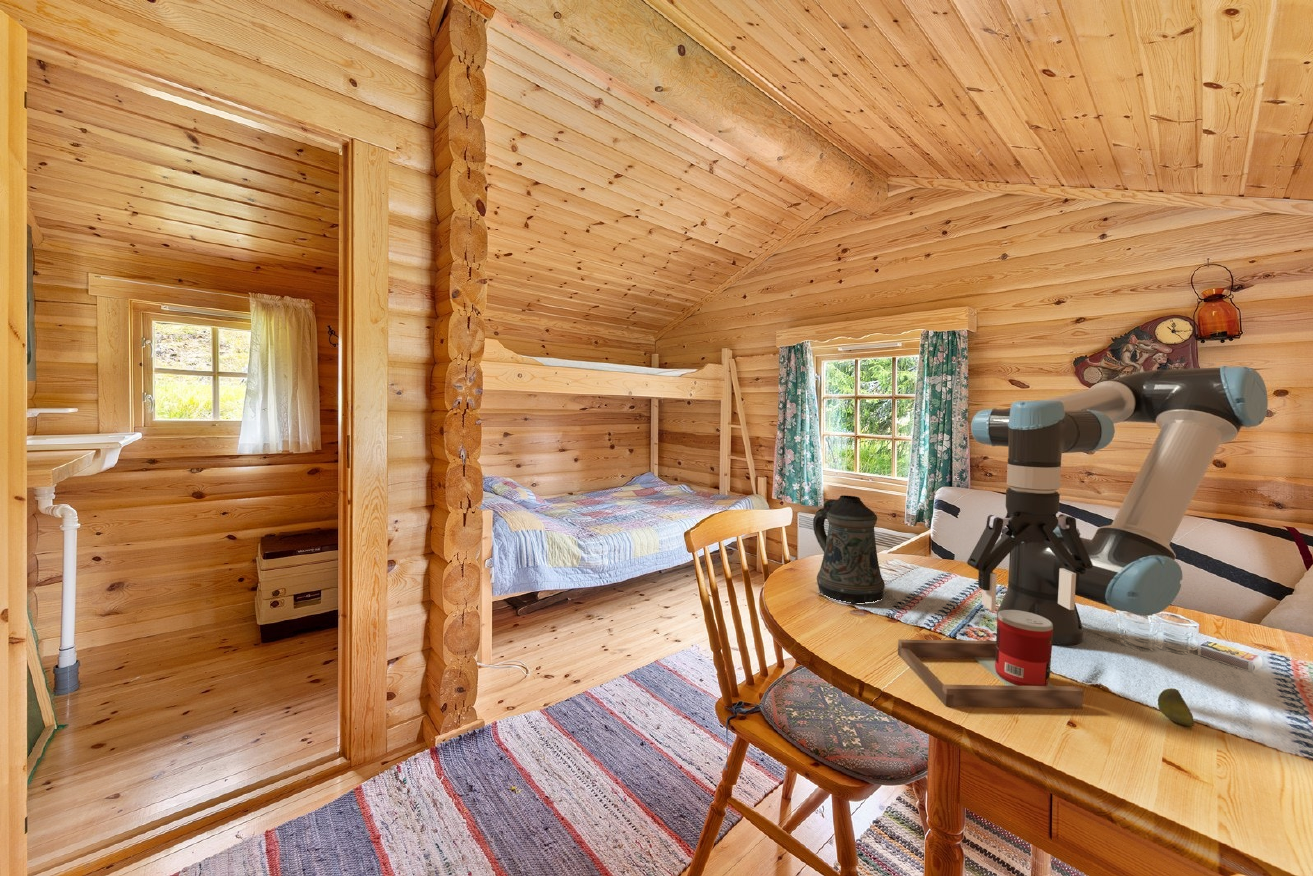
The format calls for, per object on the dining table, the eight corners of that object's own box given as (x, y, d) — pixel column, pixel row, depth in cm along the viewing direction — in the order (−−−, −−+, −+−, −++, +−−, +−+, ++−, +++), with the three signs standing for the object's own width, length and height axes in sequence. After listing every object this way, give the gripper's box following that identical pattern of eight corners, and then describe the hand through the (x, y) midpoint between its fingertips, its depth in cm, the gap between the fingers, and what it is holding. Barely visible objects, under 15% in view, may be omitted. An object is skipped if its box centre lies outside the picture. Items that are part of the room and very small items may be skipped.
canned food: (1058, 692, 86) (1062, 629, 85) (1006, 686, 88) (1009, 625, 87) (1035, 669, 93) (1038, 611, 93) (987, 664, 95) (990, 607, 94)
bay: (1010, 655, 99) (1011, 641, 99) (1082, 708, 82) (1083, 690, 82) (897, 654, 99) (898, 639, 99) (945, 706, 82) (946, 688, 82)
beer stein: (877, 610, 120) (882, 507, 118) (797, 593, 130) (799, 498, 129) (889, 589, 134) (892, 496, 132) (815, 575, 144) (817, 488, 143)
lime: (1169, 711, 81) (1172, 681, 81) (1206, 730, 77) (1209, 698, 76) (1147, 713, 81) (1149, 683, 80) (1183, 733, 76) (1185, 701, 76)
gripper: (1087, 484, 91) (1080, 598, 93) (948, 486, 92) (944, 599, 94) (1124, 492, 84) (1117, 615, 86) (973, 493, 84) (968, 616, 86)
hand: (1027, 607), depth 90 cm, fingers open, 13 cm apart
